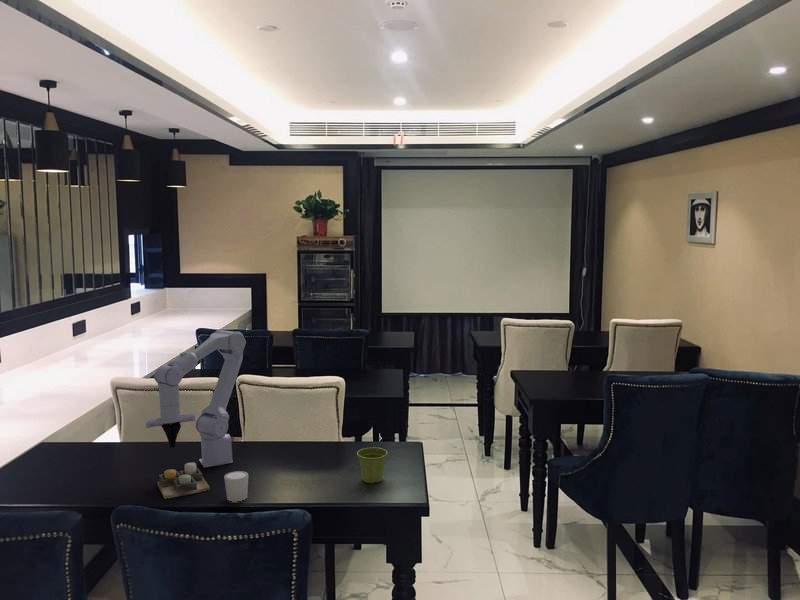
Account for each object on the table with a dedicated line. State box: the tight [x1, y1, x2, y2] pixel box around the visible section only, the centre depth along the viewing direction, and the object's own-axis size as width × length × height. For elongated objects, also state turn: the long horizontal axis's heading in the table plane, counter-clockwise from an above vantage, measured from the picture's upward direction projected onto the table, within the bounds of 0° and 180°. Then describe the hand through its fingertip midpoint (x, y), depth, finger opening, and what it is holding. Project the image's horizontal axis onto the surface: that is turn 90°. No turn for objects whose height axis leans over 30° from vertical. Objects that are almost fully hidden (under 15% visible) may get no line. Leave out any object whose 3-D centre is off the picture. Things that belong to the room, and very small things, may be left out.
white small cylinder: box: [184, 462, 197, 475], centre depth 212 cm, size 3×3×3 cm
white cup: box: [223, 470, 249, 503], centre depth 199 cm, size 7×7×7 cm
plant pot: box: [356, 447, 388, 484], centre depth 211 cm, size 9×9×9 cm
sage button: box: [179, 474, 191, 485], centre depth 205 cm, size 3×3×3 cm
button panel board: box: [156, 467, 211, 500], centre depth 208 cm, size 13×12×3 cm
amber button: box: [163, 468, 177, 480], centre depth 209 cm, size 3×3×3 cm
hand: (172, 446), depth 215 cm, fingers closed
